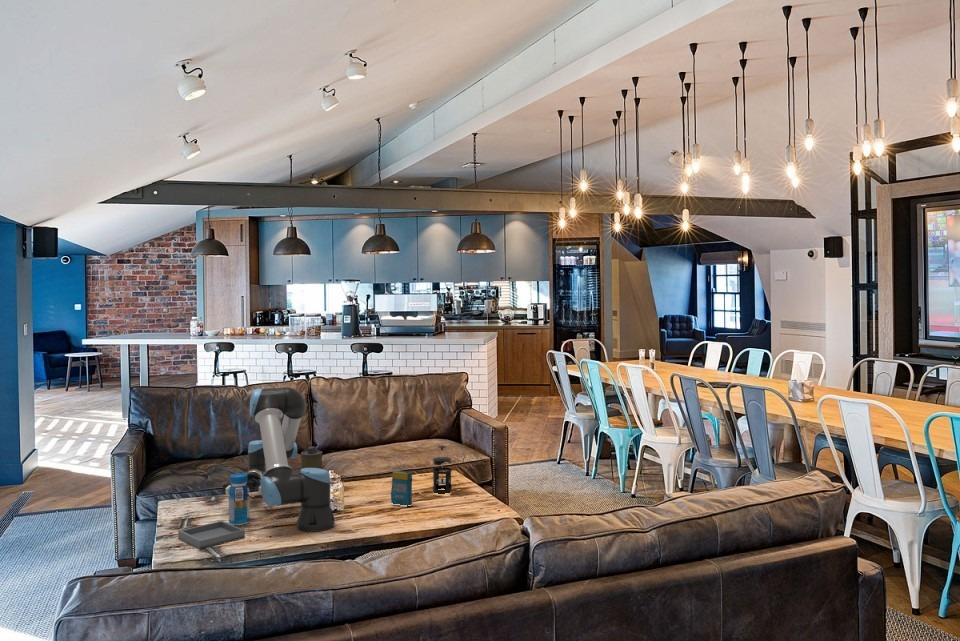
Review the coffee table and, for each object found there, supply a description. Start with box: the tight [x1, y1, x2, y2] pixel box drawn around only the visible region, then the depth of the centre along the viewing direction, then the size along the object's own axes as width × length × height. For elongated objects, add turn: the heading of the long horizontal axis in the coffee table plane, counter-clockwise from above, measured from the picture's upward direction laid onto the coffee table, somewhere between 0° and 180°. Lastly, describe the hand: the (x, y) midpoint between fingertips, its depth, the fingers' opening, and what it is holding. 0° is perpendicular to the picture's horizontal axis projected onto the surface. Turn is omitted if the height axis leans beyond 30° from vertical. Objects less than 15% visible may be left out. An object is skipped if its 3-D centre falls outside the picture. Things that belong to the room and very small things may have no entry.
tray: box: [177, 520, 246, 550], centre depth 279 cm, size 18×18×3 cm
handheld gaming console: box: [390, 470, 413, 506], centre depth 323 cm, size 10×4×15 cm, turn 65°
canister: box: [300, 446, 323, 470], centre depth 357 cm, size 11×10×20 cm
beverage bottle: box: [227, 472, 251, 526], centre depth 298 cm, size 8×8×20 cm
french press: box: [432, 445, 453, 494], centre depth 343 cm, size 12×9×23 cm
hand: (242, 491), depth 307 cm, fingers open, 13 cm apart
